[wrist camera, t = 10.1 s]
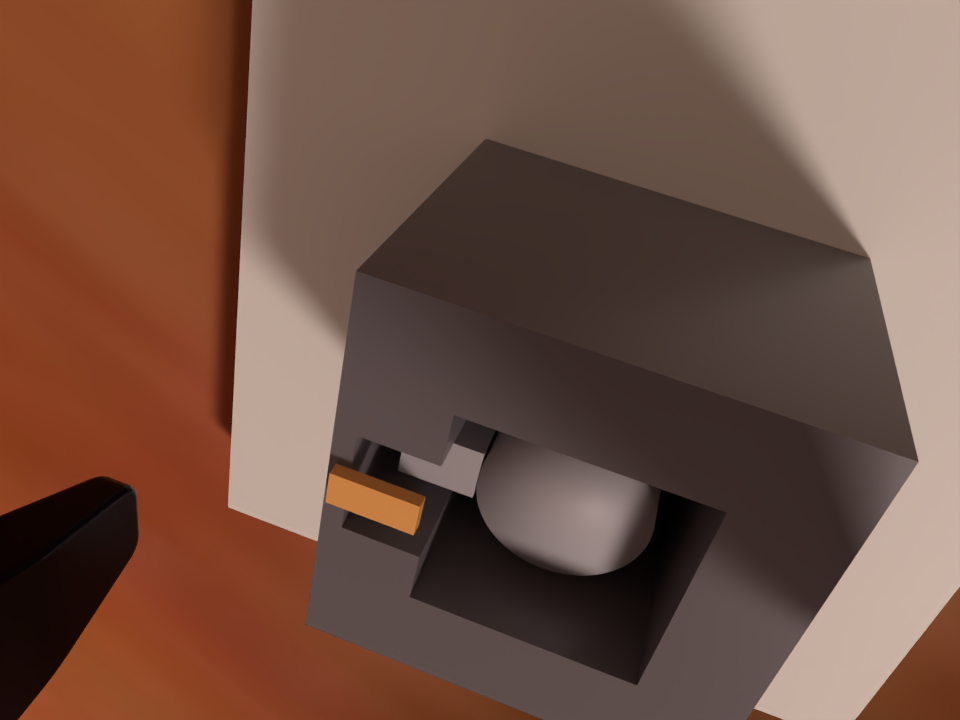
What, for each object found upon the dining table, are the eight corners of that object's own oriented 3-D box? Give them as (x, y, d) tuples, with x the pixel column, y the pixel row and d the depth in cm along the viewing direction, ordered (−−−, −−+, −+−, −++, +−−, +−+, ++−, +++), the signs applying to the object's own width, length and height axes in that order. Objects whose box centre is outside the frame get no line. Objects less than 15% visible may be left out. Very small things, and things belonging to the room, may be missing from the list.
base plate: (1304, 36, 11) (1682, 169, 6) (834, 681, 19) (853, 946, 14) (312, -219, 13) (59, -256, 8) (260, 467, 20) (116, 642, 16)
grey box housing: (870, 258, 12) (921, 473, 8) (721, 539, 16) (702, 796, 11) (485, 138, 13) (348, 279, 9) (421, 430, 16) (299, 634, 12)
